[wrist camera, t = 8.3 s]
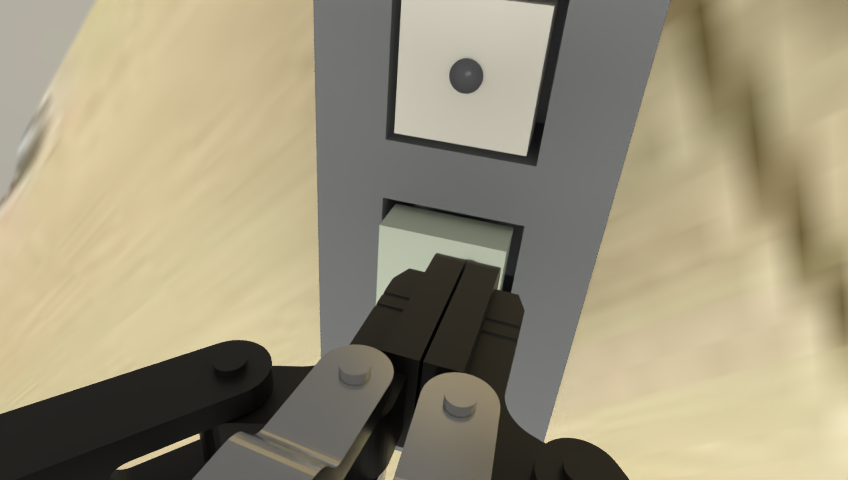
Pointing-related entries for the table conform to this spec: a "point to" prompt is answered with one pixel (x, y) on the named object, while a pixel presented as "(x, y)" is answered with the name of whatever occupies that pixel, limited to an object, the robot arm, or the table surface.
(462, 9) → the tile
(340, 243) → the console
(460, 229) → the pale green flat block
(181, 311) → the table surface
